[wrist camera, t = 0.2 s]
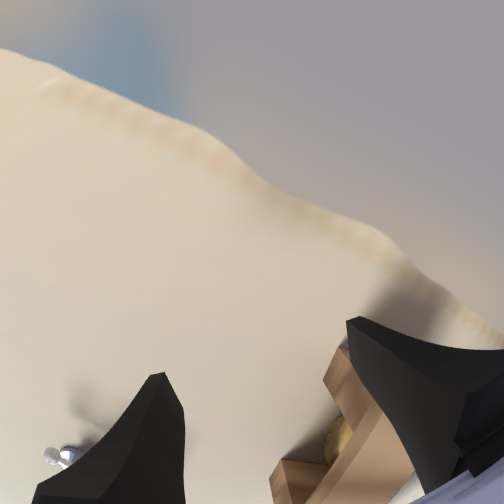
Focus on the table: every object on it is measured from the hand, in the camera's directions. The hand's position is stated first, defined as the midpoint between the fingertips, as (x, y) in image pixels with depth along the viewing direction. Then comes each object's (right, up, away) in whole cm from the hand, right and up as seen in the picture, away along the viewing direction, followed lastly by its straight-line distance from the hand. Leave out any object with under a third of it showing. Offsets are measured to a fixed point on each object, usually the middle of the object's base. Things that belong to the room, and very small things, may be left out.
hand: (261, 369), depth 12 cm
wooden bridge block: (+7, -11, +13) cm, 18 cm away
